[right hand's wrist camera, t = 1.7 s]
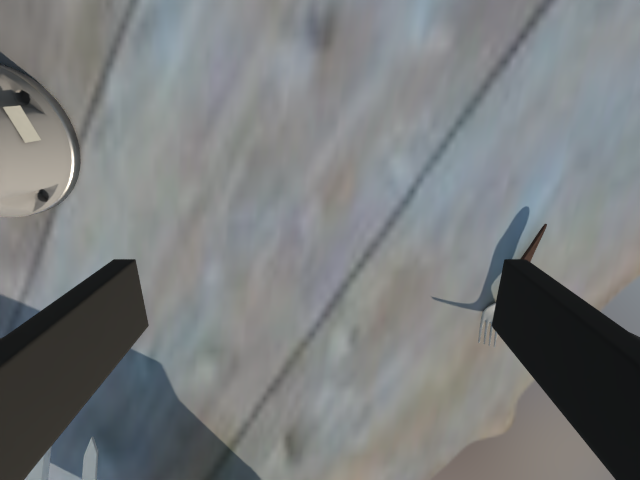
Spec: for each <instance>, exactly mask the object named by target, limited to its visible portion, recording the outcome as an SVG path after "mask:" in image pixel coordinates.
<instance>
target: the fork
mask: <svg viewBox="0 0 640 480" xmlns="http://www.w3.org/2000/svg"><path fill="white" fill-rule="evenodd" d="M546 226H547V224H545V225H544V226H543V227H542V228H541V230H540V231H539V233H538V234H537V236H536V237H535V239H534V240H533V242H532V243H531V245H530V246H529V248H528V249H527V251H526V252H525V253H524V255H523V256H522V258H521V259H526V260H528V261H529V262H530V261H531V259H532V257H533V254H534V252H535V250H536V248H537V246H538V244H539V242H540V240H541V238H542V235H543V233H544V231H545V229H546ZM495 305H496V303H494V304H492V305H490V306H488V307H487V308H486V309H485V310H484V311H483V313H482V317H481V323H480V331H479V341H478V343H480V337H481V332H482V327H483V323H484V321H486V325H485V333H484V344H485V339H486V334H487V329H488V325H489V323H491V325H492V320H493V315H494V310H495ZM492 331H493V327H492V326H491V327H490V336H489V346H490V341H491V336H492ZM496 338H497V332H496V331H495V339H494V347H495V344H496Z"/></svg>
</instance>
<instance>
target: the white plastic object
mask: <svg viewBox="0 0 640 480" xmlns="http://www.w3.org/2000/svg"><path fill="white" fill-rule="evenodd" d="M50 456H51V447H50V448H49V450H48V451H47V452H46V453H45V454H44V456H43V457H42V458H41V459H40V461H39V462H38V463H37V464H36V466H35V467H34V468H33V469H32V471H31V472H30V473H29V474H28V476H27V480H48V476H49V466H50ZM97 466H98V449H97V445H96V442H95V439H94V436H93V437H91V439H90V442H89V444H88V447H87V449H86V452H85V454H84V459H83V473H82V480H97Z"/></svg>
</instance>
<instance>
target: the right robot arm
mask: <svg viewBox="0 0 640 480" xmlns="http://www.w3.org/2000/svg"><path fill="white" fill-rule="evenodd" d="M79 170H80V149H79V144H78V140H77V137H76V133H75V131H74V128H73V126H72V124H71V122H70V120H69V118H68V116H67V115H66V113H65V111H64V110H63V109H62V107H61V106H60V104H59V103H58V102H57V101H56V99H55V98H54V97H53V96H52V95H51V94H50V93H49V92H48V91H47V90H46V89H45V88H44V87H42V86H41V85H40V84H39V83H37V82H36V81H35V80H33V79H32V78H30V77H29V76H27V75H25V74H23V73H22V72H20V71H18V70H15V69H13V68H11V67H8V66H5V65H1V64H0V217H21V216H28V215H33V214H36V213H40V212H42V211H45V210H48V209H50V208H53V207H55V206H56V205H58V204H59V203H61V202H62V201H63V200H64V199H65V198H66V197H67V196H68V195H69V194H70V193H71V191H72V189H73V188H74V186H75V184H76V181H77V178H78V175H79ZM148 326H149V325H148V320H147V315H146V310H145V305H144V300H143V295H142V290H141V285H140V280H139V275H138V270H137V265H136V260H135V259H114V260H112V261H111V262H110V263H108V264H107V265H105V266H104V267H103V268H101V269H100V270H98V271H97V272H95V273H94V274H93V275H91V276H90V277H88V278H87V279H86V280H84V281H83V282H81V283H80V284H79V285H77V286H76V287H74V288H73V289H71V290H70V291H69V292H67V293H66V294H64V295H63V296H62V297H60V298H59V299H57V300H56V301H54V302H53V303H52V304H50V305H49V306H47V307H46V308H45V309H43V310H42V311H40V312H39V313H38V314H36V315H35V316H33V317H32V318H30V319H29V320H28V321H26V322H25V323H23V324H22V325H21V326H19V327H18V328H16V329H15V330H13V331H12V332H11V333H9V334H8V335H6V336H5V337H3V338H1V339H0V480H24V479H25V478H26V477H27V476H28V474H29V473H30V472H31V471H32V469H33V468H34V467H35V466H36V464H37V463H38V462H39V461H40V459H41V458H42V457H43V456H44V454H45V453H46V452H47V451H48V450H49V448H50V447H51V446H52V445H53V443H54V442H55V441H56V440H57V438H58V437H59V436H60V435H61V433H62V432H63V431H64V430H65V429H66V427H67V426H68V425H69V424H70V422H71V421H72V420H73V419H74V417H75V416H76V415H77V414H78V412H79V411H80V410H81V409H82V407H83V406H84V405H85V404H86V403H87V401H88V400H89V399H90V398H91V396H92V395H93V394H94V393H95V391H96V390H97V389H98V388H99V386H100V385H101V384H102V383H103V382H104V380H105V379H106V378H107V377H108V375H109V374H110V373H111V372H112V370H113V369H114V368H115V367H116V365H117V364H118V363H119V362H120V360H121V359H122V358H123V357H124V356H125V354H126V353H127V352H128V351H129V349H130V348H131V347H132V346H133V344H134V343H135V342H136V341H137V339H138V338H139V337H140V336H141V334H142V333H143V332H144V331H145V330H146V328H147V327H148ZM491 326H492V327H493V328H494V330H495V331H496V332H497V333H498V334H499V336H500V337H501V338H502V339H503V341H504V342H505V343H506V344H507V346H508V347H509V348H510V349H511V351H512V352H513V353H514V354H515V356H516V357H517V358H518V359H519V360H520V362H521V363H522V364H523V365H524V367H525V368H526V369H527V370H528V372H529V373H530V374H531V375H532V377H533V378H534V379H535V380H536V382H537V383H538V384H539V385H540V386H541V388H542V389H543V390H544V391H545V393H546V394H547V395H548V396H549V398H550V399H551V400H552V401H553V403H554V404H555V405H556V406H557V407H558V409H559V410H560V411H561V412H562V414H563V415H564V416H565V417H566V419H567V420H568V421H569V422H570V424H571V425H572V426H573V427H574V429H575V430H576V431H577V432H578V433H579V435H580V436H581V437H582V438H583V440H584V441H585V442H586V443H587V445H588V446H589V447H590V448H591V450H592V451H593V452H594V453H595V454H596V456H597V457H598V458H599V459H600V461H601V462H602V463H603V464H604V466H605V467H606V468H607V469H608V471H609V472H610V473H611V474H612V476H613V477H614V478H615V479H616V480H640V337H638V336H636V335H634V334H632V333H630V332H628V331H627V330H625V329H624V328H622V327H621V326H619V325H618V324H617V323H615V322H614V321H612V320H611V319H610V318H608V317H607V316H605V315H604V314H602V313H601V312H600V311H598V310H597V309H595V308H594V307H593V306H591V305H590V304H588V303H587V302H586V301H584V300H583V299H581V298H580V297H578V296H577V295H576V294H574V293H573V292H571V291H570V290H569V289H567V288H566V287H564V286H563V285H561V284H560V283H559V282H557V281H556V280H554V279H553V278H552V277H550V276H549V275H547V274H546V273H545V272H543V271H542V270H540V269H539V268H537V267H536V266H535V265H533V264H532V263H530V262H529V261H528V260H526V259H505V260H504V265H503V270H502V275H501V280H500V285H499V290H498V295H497V300H496V305H495V310H494V315H493V320H492V325H491Z"/></svg>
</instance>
